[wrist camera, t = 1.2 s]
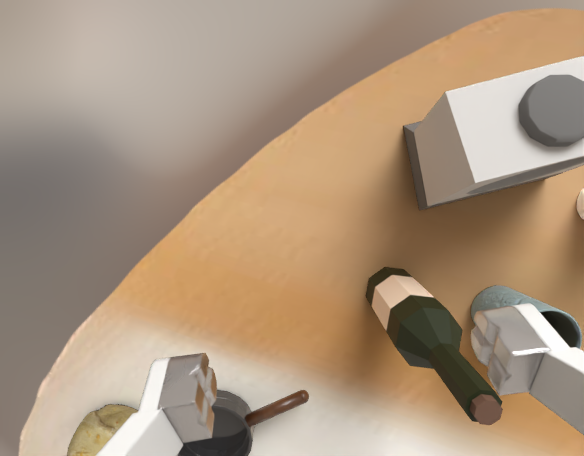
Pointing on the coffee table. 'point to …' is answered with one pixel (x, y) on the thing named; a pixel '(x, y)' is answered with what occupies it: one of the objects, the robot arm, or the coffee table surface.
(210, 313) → the coffee table surface
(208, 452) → the pan
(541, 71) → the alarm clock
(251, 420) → the pan handle
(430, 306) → the wine bottle
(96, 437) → the pastry
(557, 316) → the drinking glass
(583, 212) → the cylindrical container
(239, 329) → the coffee table surface
